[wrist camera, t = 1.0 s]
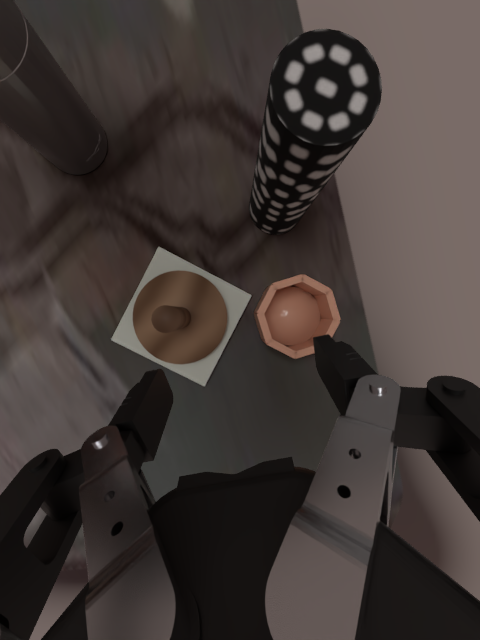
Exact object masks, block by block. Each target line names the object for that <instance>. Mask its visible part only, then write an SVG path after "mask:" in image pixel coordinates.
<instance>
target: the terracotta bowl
mask: <svg viewBox="0 0 480 640" xmlns="http://www.w3.org/2000/svg"><path fill="white" fill-rule="evenodd" d="M290 286H294V287H290ZM254 317H255V320H256V324H257V327H258V330H259V333H260V336H261V339H262V341H263V342H265V343H266V344H267V345H269V346H270V347H272V348H274V349H276V350H278V351H280V352H282V353H284V354H286V355H288V356H290V357H292V358H295V359H297V358H300V357H303V356H306V355H309V354H313V353H315V352H314V344H313V337H317V336H322V335H326V334H329V335H330V336H331V337H332V336H333V335H334V333H335V331H336V329H337V327H338V325H339V323H340V321H339V320H341V319H340V315H339V312H338V309H337V305H336V302H335V299H334V295H333V292H332V290H330V288H329V287H327V286H325V285H323V284H321V283H319V282H317V281H316V280H314V279H312V278H310V277H308V276H306V275H304V274H303V275H302V274H301V275H298V276H294V277H291V278H288V279H285V280H282V281H279V282H275V283H272V284H271V285H270V286H268V287H267V288H266V289H265V291H264V293H263V295H262V297H261V299H260V301H259V303H258V305H257V306H256V308H255V310H254ZM286 345H290V346H286Z"/></svg>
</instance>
